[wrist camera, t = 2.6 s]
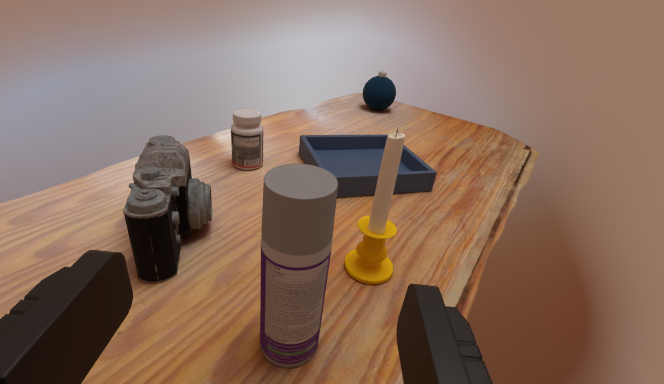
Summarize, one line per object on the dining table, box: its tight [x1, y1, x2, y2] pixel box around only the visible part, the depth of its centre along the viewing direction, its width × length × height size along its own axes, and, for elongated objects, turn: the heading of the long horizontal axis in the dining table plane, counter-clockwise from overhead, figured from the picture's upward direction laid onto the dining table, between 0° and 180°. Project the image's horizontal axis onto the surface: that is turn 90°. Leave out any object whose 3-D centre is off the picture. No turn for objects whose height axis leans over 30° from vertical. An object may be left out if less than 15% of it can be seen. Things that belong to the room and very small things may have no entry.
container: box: [260, 164, 338, 368], centre depth 24 cm, size 5×5×15 cm
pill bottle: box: [231, 109, 263, 170], centre depth 53 cm, size 5×5×8 cm
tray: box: [299, 135, 437, 198], centre depth 56 cm, size 18×16×3 cm
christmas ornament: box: [363, 72, 396, 110], centre depth 88 cm, size 8×8×10 cm
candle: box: [344, 129, 405, 285], centre depth 33 cm, size 5×5×16 cm
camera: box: [123, 136, 212, 283], centre depth 36 cm, size 15×7×10 cm, turn 16°
